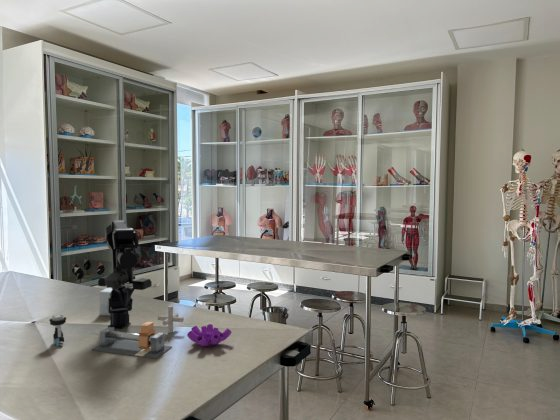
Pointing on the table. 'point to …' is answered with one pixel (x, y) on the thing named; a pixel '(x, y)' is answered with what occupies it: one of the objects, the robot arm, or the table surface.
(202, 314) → the table surface
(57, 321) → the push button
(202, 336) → the purple tube cluster
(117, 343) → the grey base plate
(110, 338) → the linear slide rail
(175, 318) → the pipe connector
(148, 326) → the collar
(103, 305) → the skincare box
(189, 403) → the table surface
